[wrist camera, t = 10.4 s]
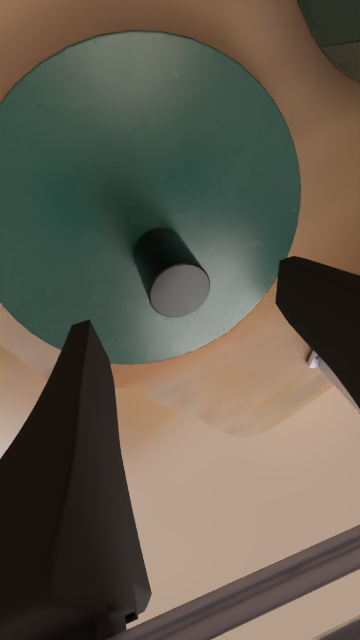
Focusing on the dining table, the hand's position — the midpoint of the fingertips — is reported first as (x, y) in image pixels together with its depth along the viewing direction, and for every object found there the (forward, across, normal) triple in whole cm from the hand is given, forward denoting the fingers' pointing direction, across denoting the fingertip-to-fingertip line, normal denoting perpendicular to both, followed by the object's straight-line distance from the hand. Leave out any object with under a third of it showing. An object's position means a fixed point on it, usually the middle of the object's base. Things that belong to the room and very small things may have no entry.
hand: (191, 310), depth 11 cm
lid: (+5, 0, 0) cm, 5 cm away
